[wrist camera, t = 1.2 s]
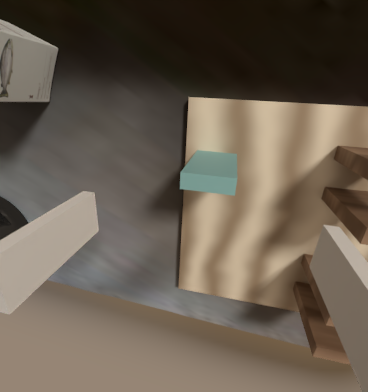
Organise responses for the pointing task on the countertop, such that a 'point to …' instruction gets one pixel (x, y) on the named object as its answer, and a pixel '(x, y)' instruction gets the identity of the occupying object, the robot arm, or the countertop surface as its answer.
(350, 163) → the domino
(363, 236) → the domino
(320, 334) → the domino
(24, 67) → the supplement box
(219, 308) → the countertop surface
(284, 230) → the birch board
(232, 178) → the domino
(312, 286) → the domino
